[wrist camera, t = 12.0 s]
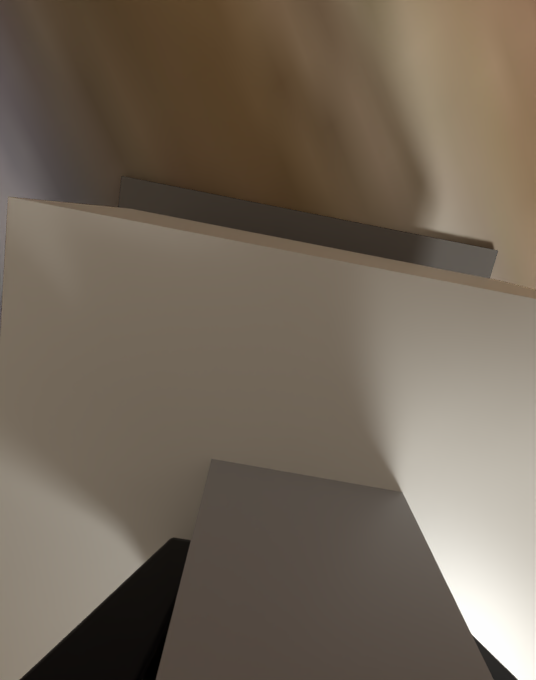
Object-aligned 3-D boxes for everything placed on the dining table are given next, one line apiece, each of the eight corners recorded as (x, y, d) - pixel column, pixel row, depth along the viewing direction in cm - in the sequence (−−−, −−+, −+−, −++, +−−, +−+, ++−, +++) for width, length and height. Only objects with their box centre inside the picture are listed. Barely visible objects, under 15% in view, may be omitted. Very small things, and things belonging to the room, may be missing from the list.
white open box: (404, 587, 16) (633, 1215, 6) (92, 535, 15) (-236, 1113, 5) (498, 280, 13) (1178, 452, 3) (130, 208, 13) (-347, 162, 3)
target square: (400, 563, 18) (401, 567, 18) (86, 511, 18) (84, 514, 17) (495, 250, 15) (498, 250, 15) (123, 176, 15) (121, 175, 15)
